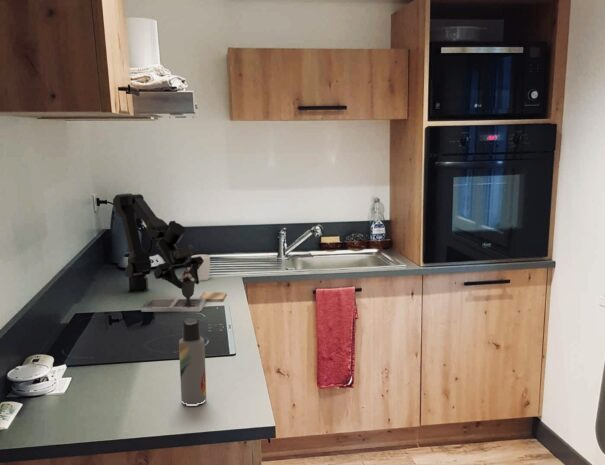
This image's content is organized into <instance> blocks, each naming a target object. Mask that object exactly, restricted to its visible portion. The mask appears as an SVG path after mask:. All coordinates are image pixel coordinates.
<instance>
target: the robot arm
mask: <svg viewBox="0 0 605 465" xmlns="http://www.w3.org/2000/svg"><path fill="white" fill-rule="evenodd" d="M112 204H113V206H114V208H115V212H116V213H117V214H118V215H119V216H120V217H121V218H122V224H123V227H124V233H125V237H126V241H127V245H128V250H129V255H128V257H127V264H126V265H127V266H126V268H125V269H124V271H123V272H124V276H125V277H126V278H128V282H129V283H128V288H129V289H128V291H127V292H128V293H145V292H146V291H147V290H148V289H149V278H148V277H147V276H148V275H150V274H151V268H152V260H151V258H150V257H151V256H150V254H149V252H146V251H145V250H144V249H143V246H142V242H141V237H140V233H139V228H138V225H137V220H136V216H135V214H136V213H137V214H138V216H139V217H140V219H141V220H142V222H143V223H144V225H145V232H146V233H147V236H148V237H149V239H151V241H156V240H158V241H157V242H156V245H155V250H160V253H162V256H163V259H162V260H163V263H158V265H157V266H156V268H155V270H154V272H153V276H154V278H155V279H156V280H158V279H161V280H165V281H167V282H168V283H170V284H172V285H173V286H175V287H176V288H178V289H181V288H182V285H181V283H180V281H179V279H180V278H178V276H177V274H176V271H178V270H183V269H187V270H188V272H189V273H190V274H191V276H192V277H193V278H196V279H197V281H196V282H195V285H199V283H200V281H199V279H198V271H197V270H198V269H199V267H200V266H201V265H202V263H203V262H204V260H203V259H202V257H200V256H198V257H193V258H190V260H188V257H192V256H193V254H194V253H195V247H194V246H193V245H192V244H188V245H185V246H184V247H180V248H178V247H177V245H176V244H179V242H180V241H181V239H182V237H183V235H184V234H185V232H186V228H185V227H184V226H183V225H182V224H181V223H178V222H176V220H170V221H169V223H166V221H165V220H163V219H162V218H159V217H158V216H157V215H156V214H155V212H154V211H153V210H152V208H151V207H150V205H149V204H148V203H147V202H146V201H145V199H144V196H143V195H142V194H141V193H137V194H136V193H135V194H133V193H124V194H116V195H115V196H114V198H113V199H112ZM186 261H187V262H186ZM185 266H186V267H185Z"/></svg>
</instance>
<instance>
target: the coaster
mask: <svg viewBox="0 0 605 465" xmlns="http://www.w3.org/2000/svg"><path fill="white" fill-rule="evenodd" d="M226 297H227V292H226V291H223V292H222V291H221V292H218V291H217V292H216V291H215V292H214V291H213V292H210V291H209V292H207V291H206V292H202V293H201V295H200V297H199V298H198V299H206V303H207V302H208V303H209V302H212V303H213V302H214V303H215V302H216V303H217V302H220V303H221V302H224V300H225V298H226Z"/></svg>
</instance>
